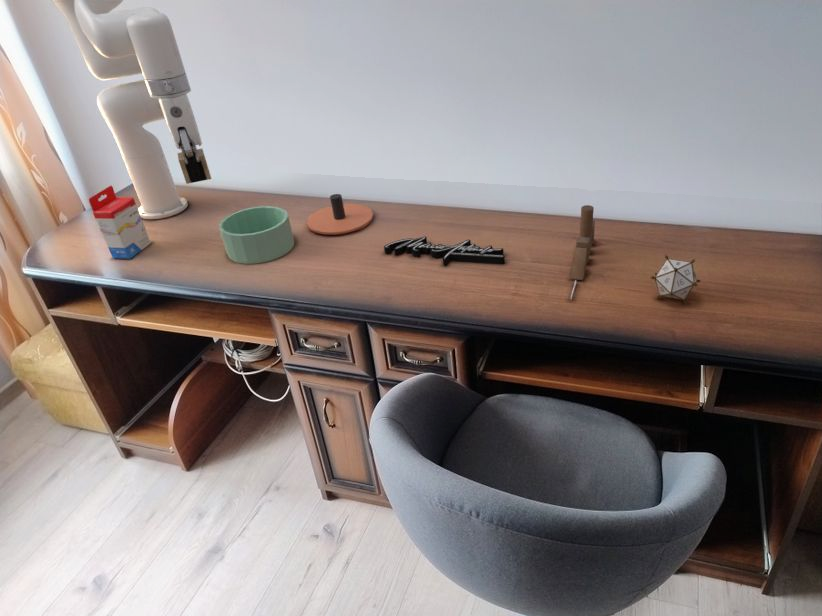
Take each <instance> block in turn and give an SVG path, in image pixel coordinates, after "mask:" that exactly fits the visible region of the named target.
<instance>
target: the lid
mask: <svg viewBox="0 0 822 616" xmlns="http://www.w3.org/2000/svg"><path fill="white" fill-rule="evenodd" d="M329 200H330V206H326V207H323V208H320V209H318V210H316V211H314V212H313V213H311V214H310V215H309V216H308V218H307V219H306V226H307V228H308V230H310V231H312V232H314V233H317V234H321V235H342V234H347V233H352V232H356V231H358V230H361V229H362V228H364V227H366V226H368V225H369V224H370V223H371V222H372V220H373V218H374V213H373V210H372V209H370V208H369V207H368V206H366V205H363V204H358V203H344V202H343V195H342V194H340V193H334V194H331V195H330V196H329Z"/></svg>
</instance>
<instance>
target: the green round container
mask: <svg viewBox="0 0 822 616" xmlns="http://www.w3.org/2000/svg"><path fill="white" fill-rule="evenodd" d="M218 231H219V233H220V237H221V240H222V242H223V246H224V249H225V253H226V255H227V257H228V258H229V259H230V260H231V261H233V262H235V263H239V264H243V265H244V264H245V265H255V264H262V263H266V262H270V261H274V260H276V259H278V258H281V257H283V256H284V255H287V254H288V253H289V252H290V251H292V249H293V248H294V246H295V236H294V233H293V229H292V225H291V221H290V216H289V213H288V212H287V211H286V210H285V209H284V208H281V207H279V206H273V205H272V206H271V205H260V206H252V207H247V208H243V209H241V210H238V211H234V212H233V213H231V214H229V215H226V216H225V217H224V218H223V219H222V220H221V221H220V222H219V225H218Z"/></svg>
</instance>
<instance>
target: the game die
mask: <svg viewBox="0 0 822 616" xmlns="http://www.w3.org/2000/svg"><path fill="white" fill-rule="evenodd" d="M664 258H665V261H664V262H663V264H662V265H661V267H660V269H659V270H658V271H657V272H655V273H654V276H653V275H652V276H651V277H650V279H651V280H654V282H655V284H656V287H657V291H658V294H659V295H657V298H656V299H657V300H660V298H661V297H664V298H669V299H675V300H681V301H682V302H683V304H685V305H687V297H688V296H689V294H690V293H691V291H692V289H693V288H694V287H698V286H699V284H698V283H701V280H700V279H697V276H696V272H695V269H694V263H695V262H696V258H692V260H691V261H687V260H680V259H675V258H669V256H668V254H665V255H664Z"/></svg>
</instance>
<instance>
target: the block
mask: <svg viewBox="0 0 822 616" xmlns="http://www.w3.org/2000/svg"><path fill="white" fill-rule="evenodd" d="M192 151H193V152H194V150H192ZM196 151H197V154H198V157H199V160H201V162H202V165H203V168H204V172H205V175H206V178H207V179H206V180H205V181H209V180H212V175H211V172H210V171H211V170H210V169H209V166H208V162H207V158H206V155H205V153H204V149H203V148H197V149H196ZM185 153H186V152H185ZM177 159H178V163H179V166H180V169H181V172H182V175H183V178H184V181H185V184H186V185H189V184H193V183H192V182H191V181H190V179H189V176H188V173H187V170H186V167H185V160H184V157H183V154H182V151H180V152H177Z"/></svg>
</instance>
